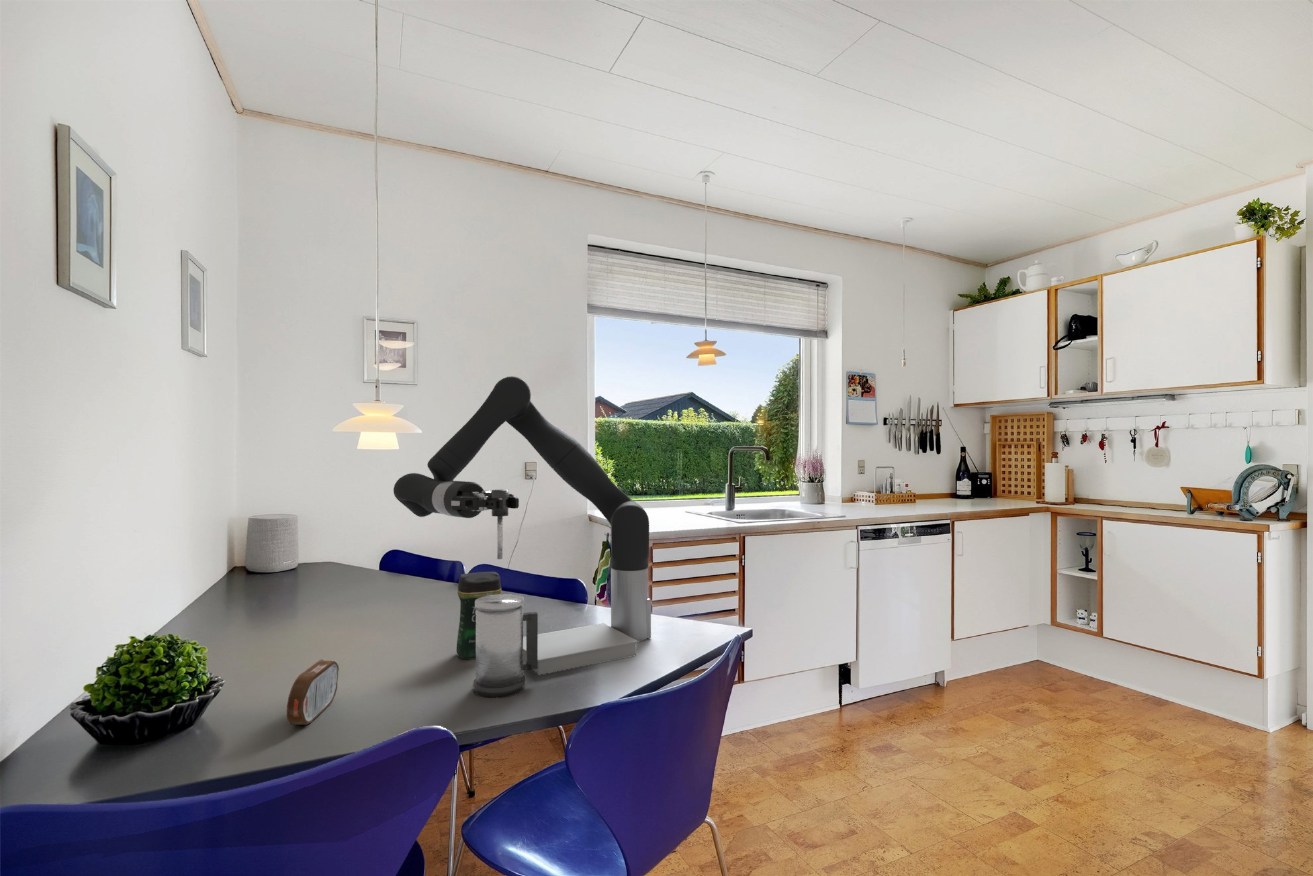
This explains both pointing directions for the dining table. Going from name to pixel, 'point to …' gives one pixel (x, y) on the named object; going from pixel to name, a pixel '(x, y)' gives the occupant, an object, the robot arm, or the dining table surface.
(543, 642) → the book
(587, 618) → the dining table surface
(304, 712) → the tin
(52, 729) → the dining table surface
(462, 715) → the dining table surface
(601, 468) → the robot arm
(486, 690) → the carafe
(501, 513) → the plunger
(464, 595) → the coffee jar
